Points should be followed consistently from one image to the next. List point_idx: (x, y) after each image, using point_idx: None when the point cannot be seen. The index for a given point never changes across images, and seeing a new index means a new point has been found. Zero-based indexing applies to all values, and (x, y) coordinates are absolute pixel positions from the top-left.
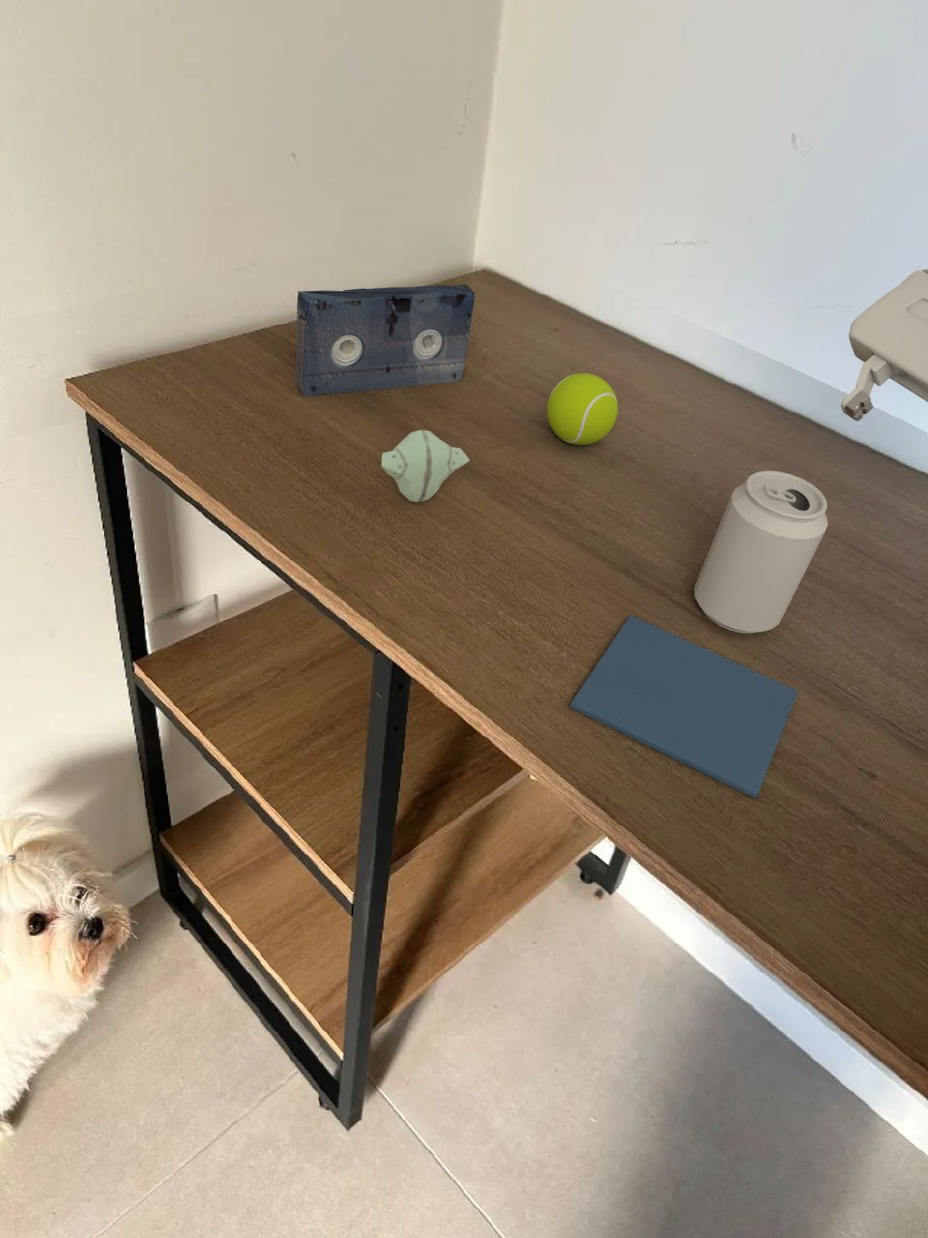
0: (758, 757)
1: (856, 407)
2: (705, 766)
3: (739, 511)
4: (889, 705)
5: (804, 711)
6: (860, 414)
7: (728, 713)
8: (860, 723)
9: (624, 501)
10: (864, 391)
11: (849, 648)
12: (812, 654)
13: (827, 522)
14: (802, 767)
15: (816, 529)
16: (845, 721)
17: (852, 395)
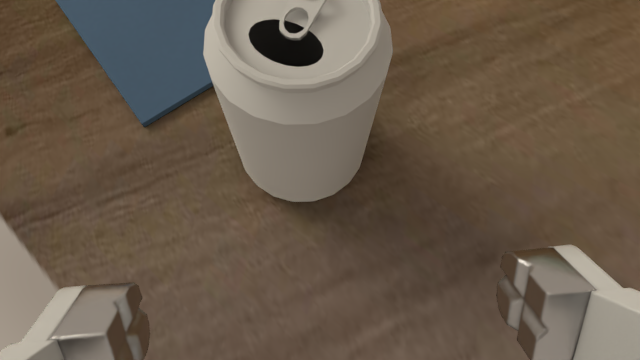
0: (87, 23)
1: (514, 253)
2: None
3: None
4: (73, 237)
5: (120, 121)
6: (508, 301)
7: (150, 30)
8: (71, 175)
9: (559, 135)
10: (595, 314)
11: (180, 262)
12: (192, 198)
13: (230, 98)
14: (61, 68)
15: (210, 48)
16: (83, 159)
17: (582, 266)
